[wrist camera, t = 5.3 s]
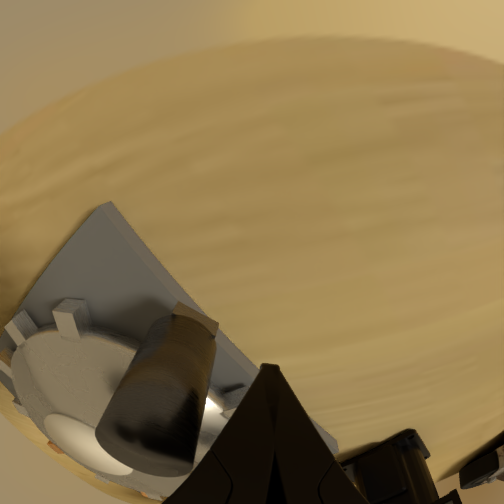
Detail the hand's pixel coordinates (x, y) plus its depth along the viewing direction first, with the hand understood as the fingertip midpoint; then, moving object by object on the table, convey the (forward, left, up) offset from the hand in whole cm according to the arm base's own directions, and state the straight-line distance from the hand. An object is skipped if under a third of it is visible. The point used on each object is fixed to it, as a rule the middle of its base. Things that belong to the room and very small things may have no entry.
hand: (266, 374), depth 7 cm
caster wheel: (-36, -9, -6) cm, 37 cm away
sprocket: (-2, +11, -4) cm, 12 cm away
